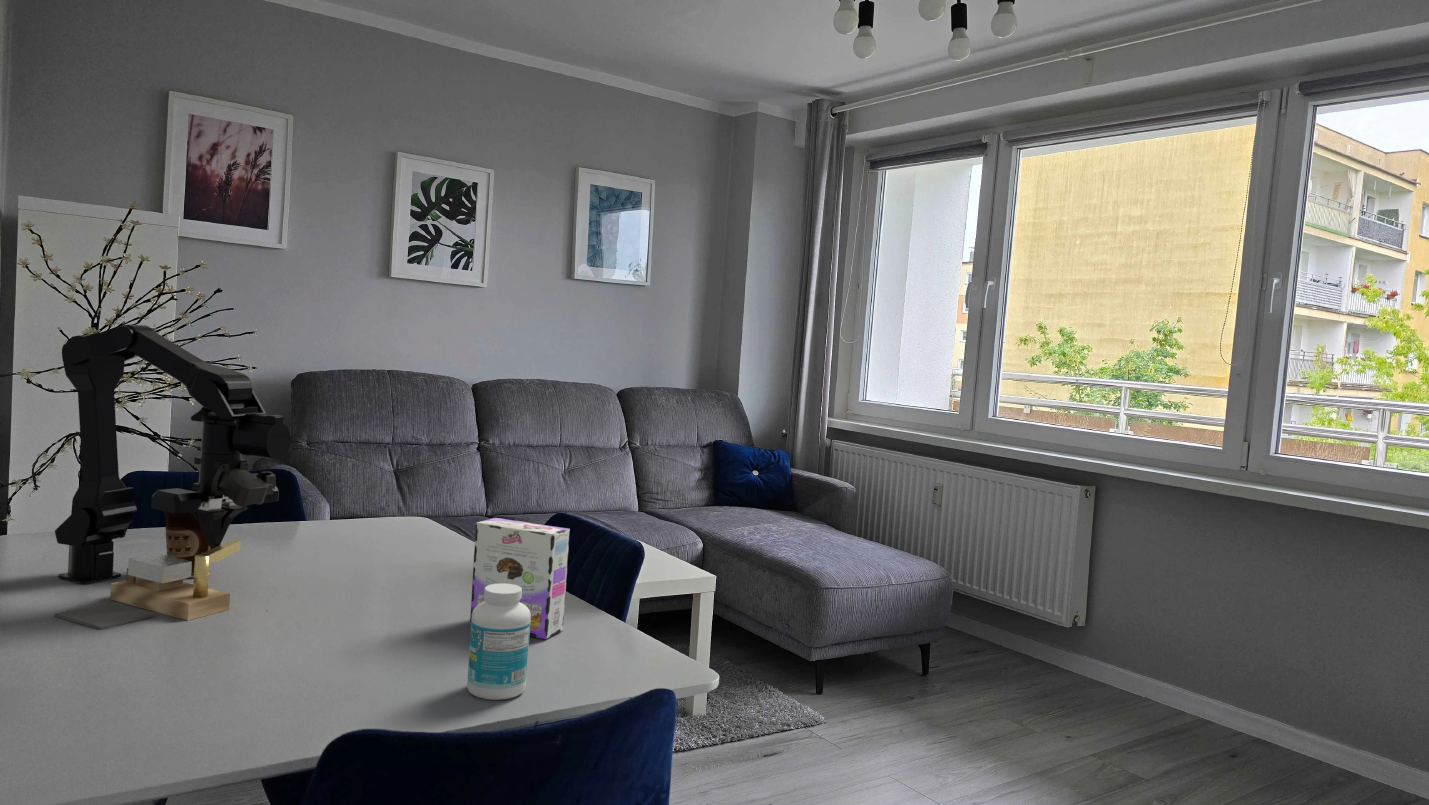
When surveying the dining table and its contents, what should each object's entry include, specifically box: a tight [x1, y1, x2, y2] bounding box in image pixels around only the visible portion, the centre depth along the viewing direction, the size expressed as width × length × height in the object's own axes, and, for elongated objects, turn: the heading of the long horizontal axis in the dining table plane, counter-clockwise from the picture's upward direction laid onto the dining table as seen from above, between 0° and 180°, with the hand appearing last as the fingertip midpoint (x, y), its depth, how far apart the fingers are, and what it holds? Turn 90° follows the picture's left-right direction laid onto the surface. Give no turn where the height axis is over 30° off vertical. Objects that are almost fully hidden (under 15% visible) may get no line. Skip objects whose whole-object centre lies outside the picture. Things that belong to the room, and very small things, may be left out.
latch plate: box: [109, 567, 231, 621], centre depth 145 cm, size 17×7×4 cm, turn 67°
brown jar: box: [163, 511, 211, 578], centre depth 161 cm, size 9×8×13 cm
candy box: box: [469, 517, 571, 640], centre depth 147 cm, size 14×6×16 cm, turn 71°
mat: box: [54, 600, 156, 631], centre depth 137 cm, size 10×8×1 cm
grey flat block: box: [127, 553, 192, 583], centre depth 145 cm, size 8×5×2 cm, turn 67°
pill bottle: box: [466, 583, 531, 701], centre depth 121 cm, size 8×7×14 cm
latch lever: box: [192, 539, 242, 597], centre depth 147 cm, size 12×2×6 cm, turn 3°
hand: (214, 550), depth 149 cm, fingers closed
